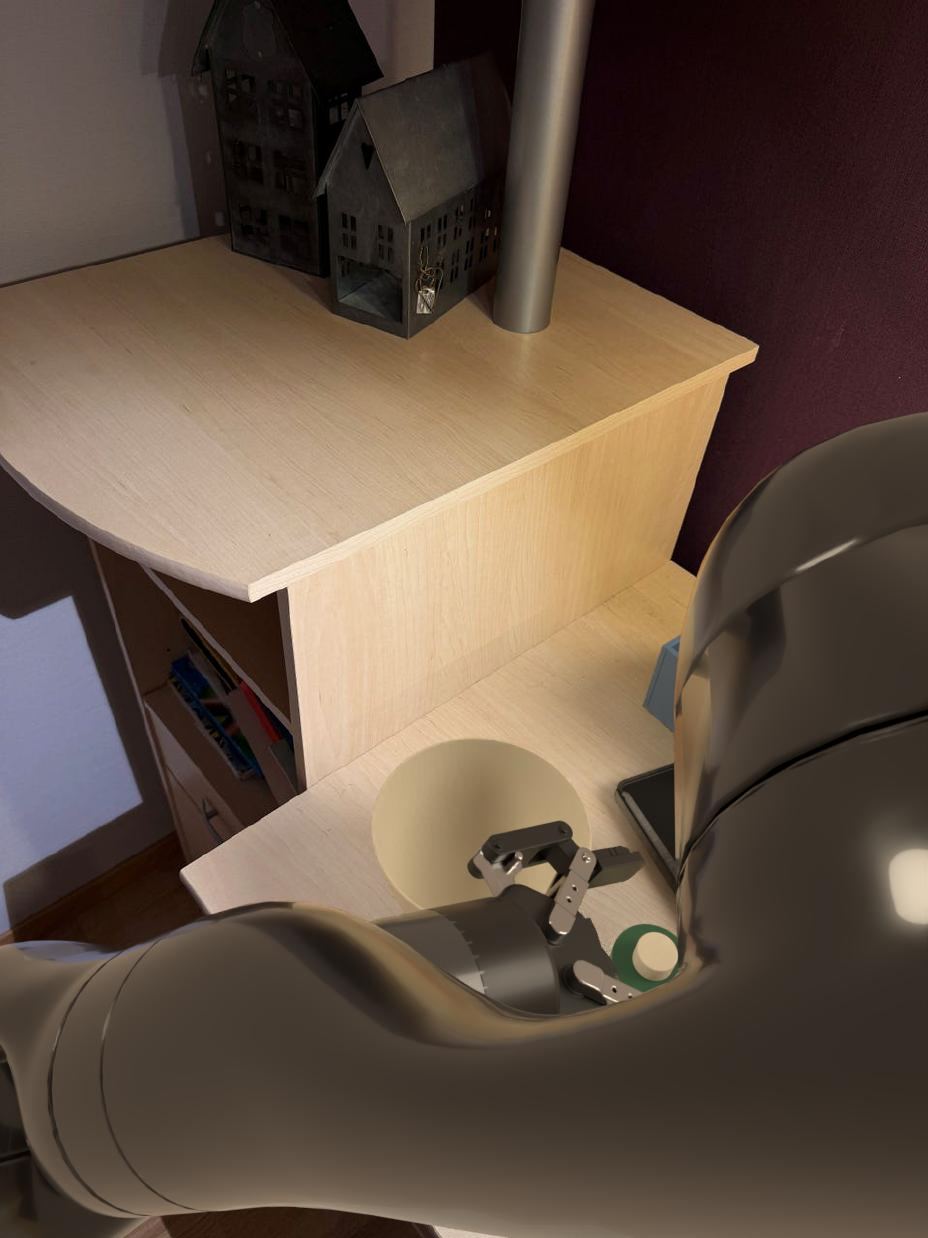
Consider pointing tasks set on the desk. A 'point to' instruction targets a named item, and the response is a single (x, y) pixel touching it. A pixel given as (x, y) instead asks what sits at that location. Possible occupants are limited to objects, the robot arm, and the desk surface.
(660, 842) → the phone
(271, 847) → the desk surface
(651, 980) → the bottle
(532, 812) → the bowl
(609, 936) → the desk surface
